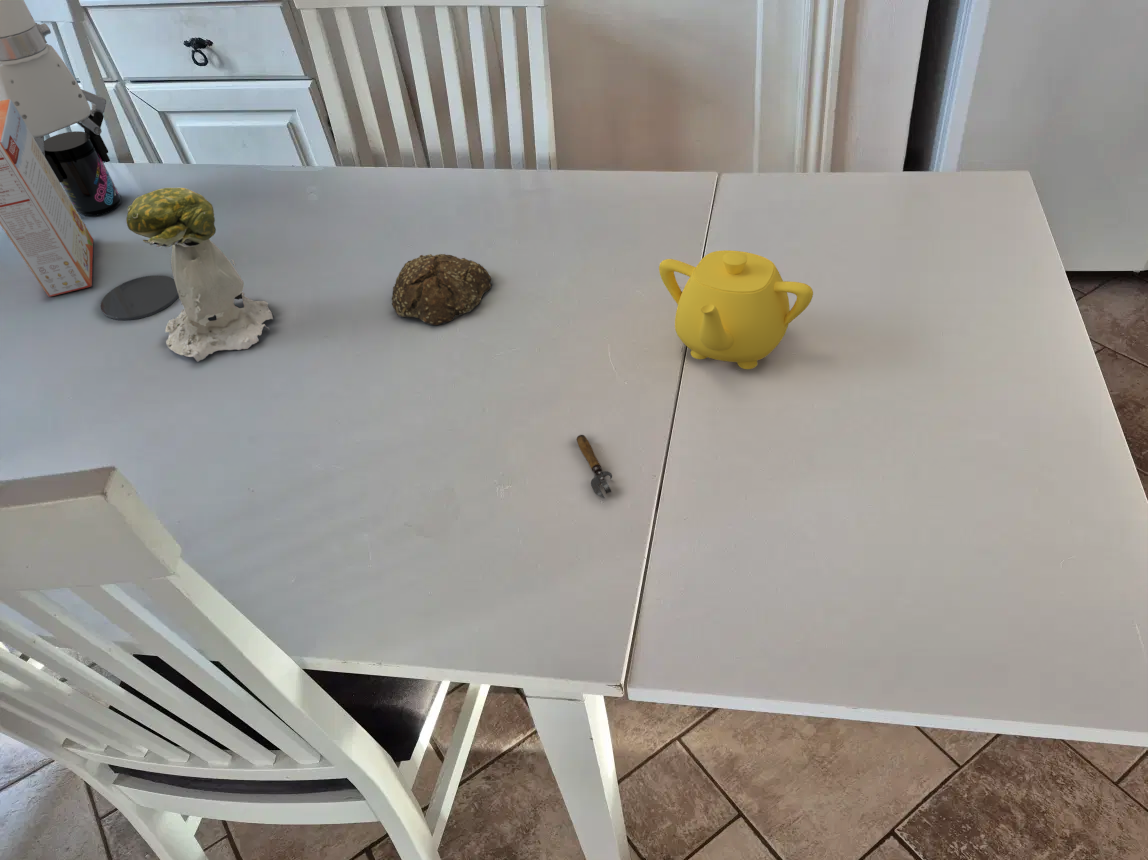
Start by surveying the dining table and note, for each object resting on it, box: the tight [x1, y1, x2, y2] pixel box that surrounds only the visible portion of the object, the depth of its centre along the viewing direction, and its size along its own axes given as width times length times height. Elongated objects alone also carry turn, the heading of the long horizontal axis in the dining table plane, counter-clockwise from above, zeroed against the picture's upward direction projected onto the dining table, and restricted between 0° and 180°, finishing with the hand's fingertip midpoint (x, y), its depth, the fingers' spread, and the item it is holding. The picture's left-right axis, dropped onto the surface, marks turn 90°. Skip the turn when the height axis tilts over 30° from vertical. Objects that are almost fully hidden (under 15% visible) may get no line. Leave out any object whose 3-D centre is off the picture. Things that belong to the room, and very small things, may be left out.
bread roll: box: [391, 253, 492, 326], centre depth 108 cm, size 13×12×5 cm
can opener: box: [576, 434, 613, 499], centre depth 86 cm, size 9×2×1 cm, turn 16°
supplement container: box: [44, 130, 122, 217], centre depth 127 cm, size 7×7×10 cm
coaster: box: [100, 274, 179, 321], centre depth 113 cm, size 10×10×1 cm
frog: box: [126, 187, 274, 363], centre depth 100 cm, size 12×13×18 cm
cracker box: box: [0, 99, 94, 298], centre depth 111 cm, size 14×6×21 cm, turn 23°
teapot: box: [658, 249, 814, 370], centre depth 96 cm, size 14×14×12 cm
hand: (79, 168), depth 127 cm, fingers closed on supplement container, 6 cm apart
